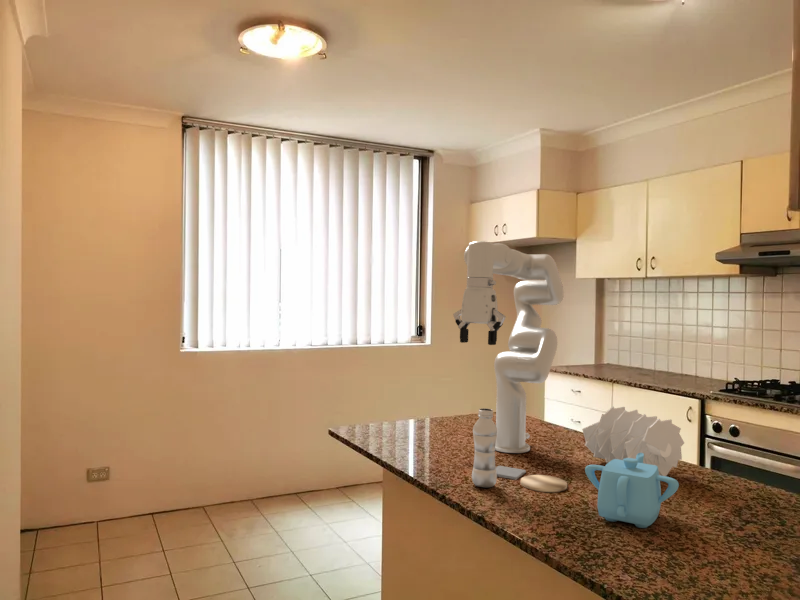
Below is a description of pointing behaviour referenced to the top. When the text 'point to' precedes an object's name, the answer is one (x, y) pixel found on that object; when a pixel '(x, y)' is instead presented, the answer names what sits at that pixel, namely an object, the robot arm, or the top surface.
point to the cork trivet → (544, 483)
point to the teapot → (630, 490)
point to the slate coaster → (509, 472)
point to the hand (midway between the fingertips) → (477, 343)
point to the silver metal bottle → (484, 449)
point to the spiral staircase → (635, 438)
